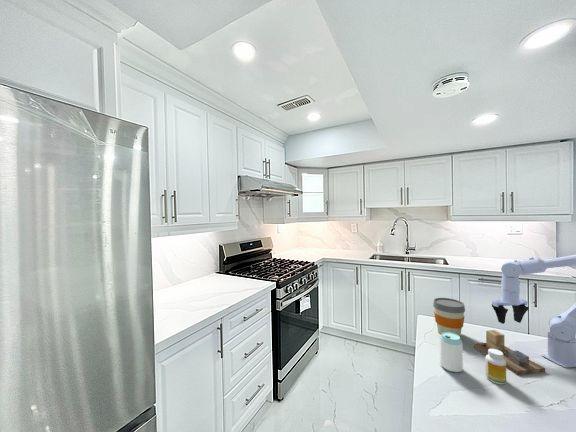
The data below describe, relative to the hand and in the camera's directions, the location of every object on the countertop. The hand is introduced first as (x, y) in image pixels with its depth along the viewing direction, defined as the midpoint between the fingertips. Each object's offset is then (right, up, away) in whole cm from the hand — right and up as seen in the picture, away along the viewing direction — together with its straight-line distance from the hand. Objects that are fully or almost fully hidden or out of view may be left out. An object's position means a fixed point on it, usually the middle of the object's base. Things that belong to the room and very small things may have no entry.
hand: (509, 322), depth 104 cm
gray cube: (-8, -11, -13) cm, 19 cm away
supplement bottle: (-23, -11, -20) cm, 32 cm away
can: (-33, -12, -13) cm, 37 cm away
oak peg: (-9, -11, -4) cm, 14 cm away
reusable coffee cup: (-18, -11, +12) cm, 24 cm away
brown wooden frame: (-9, -11, -8) cm, 16 cm away
